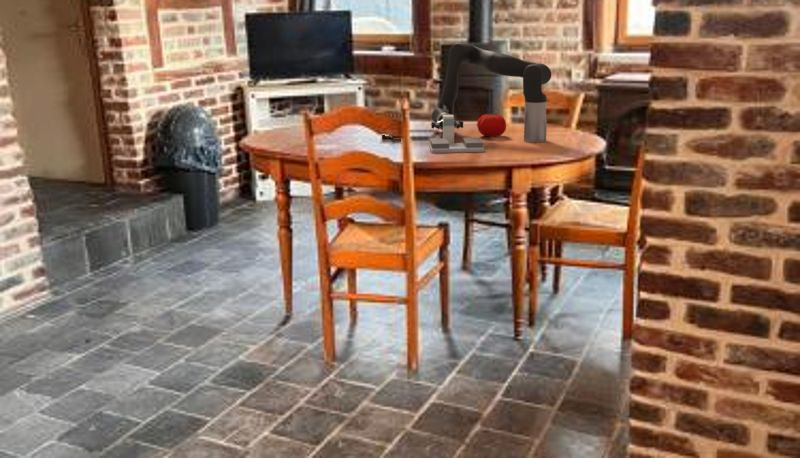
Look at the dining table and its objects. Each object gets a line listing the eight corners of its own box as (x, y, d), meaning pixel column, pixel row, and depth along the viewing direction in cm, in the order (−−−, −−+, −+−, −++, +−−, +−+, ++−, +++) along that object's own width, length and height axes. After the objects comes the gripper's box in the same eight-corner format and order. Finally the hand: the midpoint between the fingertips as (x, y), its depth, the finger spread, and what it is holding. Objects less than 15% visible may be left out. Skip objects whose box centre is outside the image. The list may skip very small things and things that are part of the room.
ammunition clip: (405, 138, 356) (404, 112, 353) (405, 139, 354) (404, 112, 351) (381, 138, 356) (381, 112, 353) (381, 139, 355) (380, 113, 351)
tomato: (505, 134, 362) (506, 111, 359) (506, 138, 351) (506, 115, 348) (476, 134, 364) (477, 111, 361) (476, 138, 352) (477, 115, 349)
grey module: (453, 141, 345) (453, 114, 341) (454, 143, 340) (454, 116, 336) (442, 142, 345) (442, 115, 341) (443, 144, 340) (443, 116, 336)
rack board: (479, 144, 336) (479, 136, 335) (484, 151, 320) (484, 143, 319) (429, 146, 335) (428, 138, 334) (431, 152, 320) (431, 144, 319)
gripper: (429, 113, 356) (432, 118, 340) (460, 112, 356) (464, 117, 341) (430, 130, 358) (432, 135, 343) (460, 129, 358) (464, 134, 343)
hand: (448, 126), depth 342 cm, fingers open, 8 cm apart
